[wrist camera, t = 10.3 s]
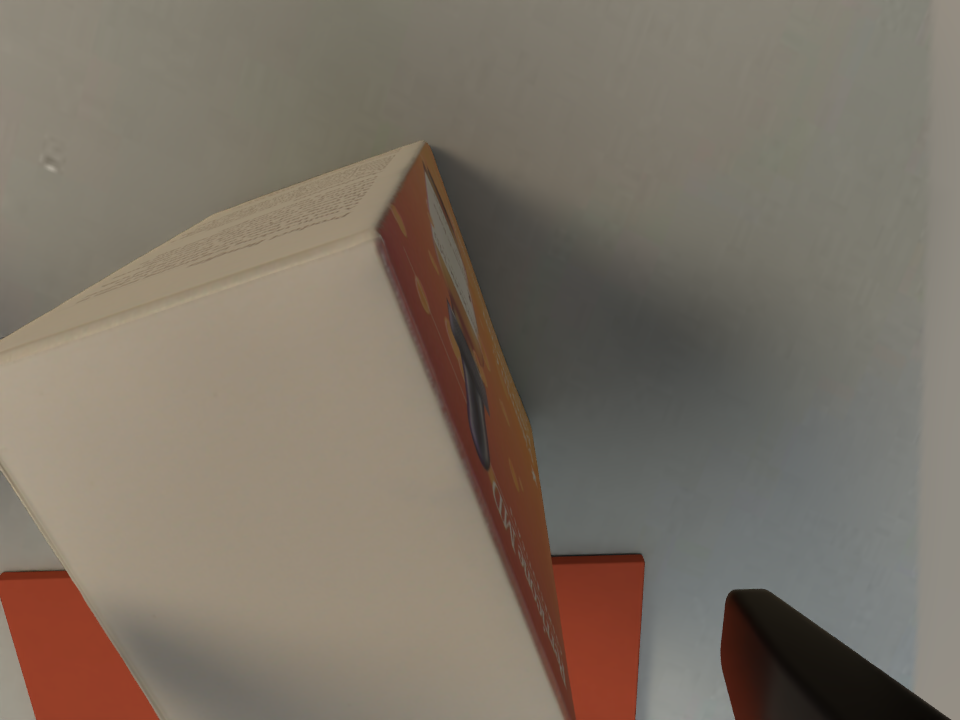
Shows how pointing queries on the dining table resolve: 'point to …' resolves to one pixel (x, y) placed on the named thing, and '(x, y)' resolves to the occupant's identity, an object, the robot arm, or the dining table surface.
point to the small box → (297, 464)
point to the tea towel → (129, 716)
